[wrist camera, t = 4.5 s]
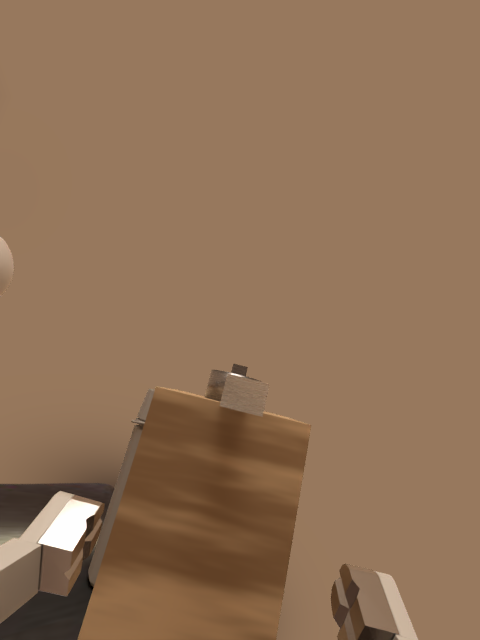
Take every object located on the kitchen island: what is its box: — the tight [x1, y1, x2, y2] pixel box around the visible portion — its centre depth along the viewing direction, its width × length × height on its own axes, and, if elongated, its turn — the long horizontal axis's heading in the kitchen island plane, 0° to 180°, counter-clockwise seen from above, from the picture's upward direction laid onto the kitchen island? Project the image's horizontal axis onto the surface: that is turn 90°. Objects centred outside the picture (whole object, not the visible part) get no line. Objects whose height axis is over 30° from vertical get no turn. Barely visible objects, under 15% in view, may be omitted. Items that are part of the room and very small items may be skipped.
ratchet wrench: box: [205, 364, 269, 417], centre depth 26 cm, size 20×6×4 cm, turn 4°
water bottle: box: [88, 389, 155, 587], centre depth 43 cm, size 9×8×25 cm
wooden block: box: [78, 387, 311, 640], centre depth 28 cm, size 12×14×26 cm
